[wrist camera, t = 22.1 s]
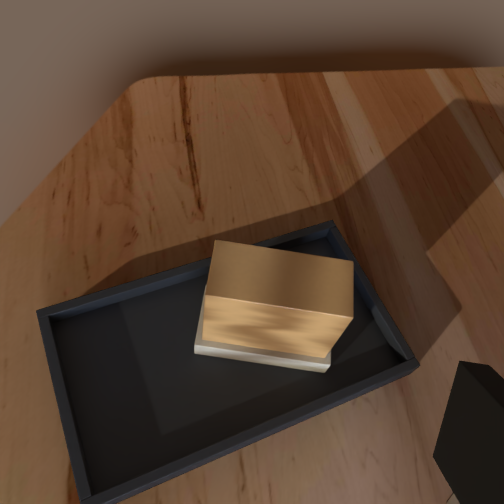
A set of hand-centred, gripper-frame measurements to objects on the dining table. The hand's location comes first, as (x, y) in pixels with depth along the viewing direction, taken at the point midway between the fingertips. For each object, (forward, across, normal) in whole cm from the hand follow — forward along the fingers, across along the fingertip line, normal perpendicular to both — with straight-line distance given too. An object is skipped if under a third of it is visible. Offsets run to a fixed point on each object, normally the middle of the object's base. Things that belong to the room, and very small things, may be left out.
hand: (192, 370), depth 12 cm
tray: (+28, +1, -12) cm, 30 cm away
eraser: (+28, +4, -10) cm, 30 cm away
